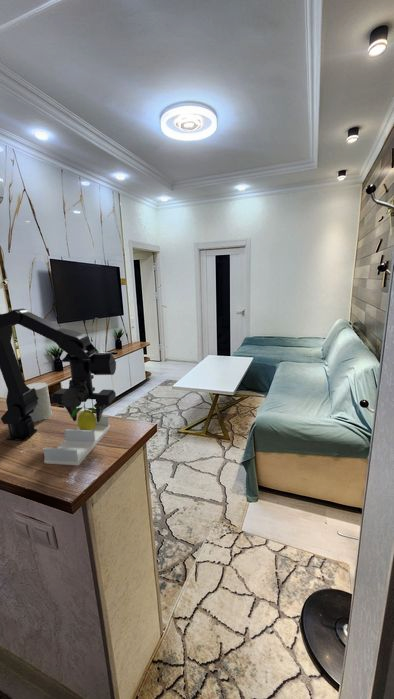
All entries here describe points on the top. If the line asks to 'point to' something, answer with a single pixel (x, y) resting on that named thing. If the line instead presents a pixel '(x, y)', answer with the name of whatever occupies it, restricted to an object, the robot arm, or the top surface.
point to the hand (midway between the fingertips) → (86, 421)
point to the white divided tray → (77, 444)
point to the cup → (41, 402)
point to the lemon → (85, 418)
